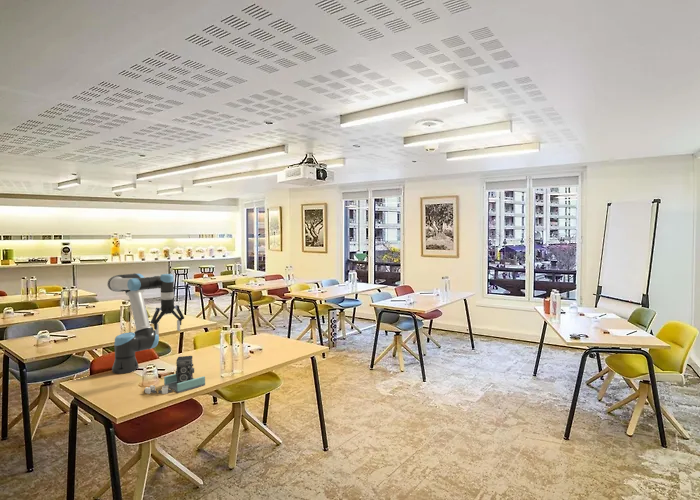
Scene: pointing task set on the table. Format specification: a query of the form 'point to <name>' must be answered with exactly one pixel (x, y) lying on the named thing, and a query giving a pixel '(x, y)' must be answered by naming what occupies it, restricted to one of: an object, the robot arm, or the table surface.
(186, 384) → the dock
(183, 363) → the camera
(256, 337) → the table surface
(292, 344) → the table surface
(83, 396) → the table surface
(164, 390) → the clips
